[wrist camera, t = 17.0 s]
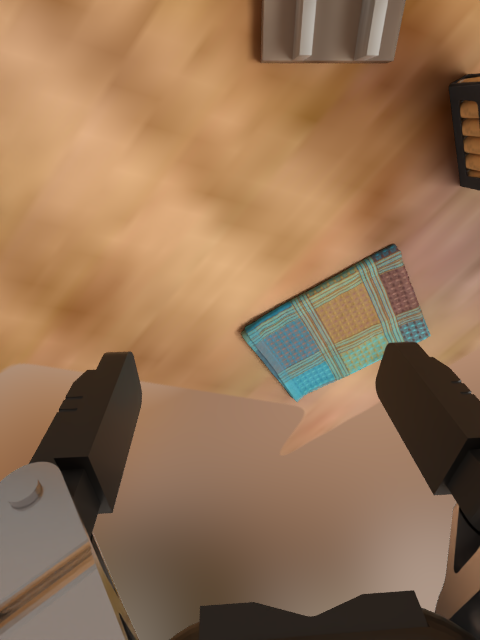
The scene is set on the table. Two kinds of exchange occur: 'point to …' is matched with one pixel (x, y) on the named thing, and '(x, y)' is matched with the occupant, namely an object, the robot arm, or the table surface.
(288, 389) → the dish towel
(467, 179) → the ammunition clip
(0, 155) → the table surface
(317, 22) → the board
